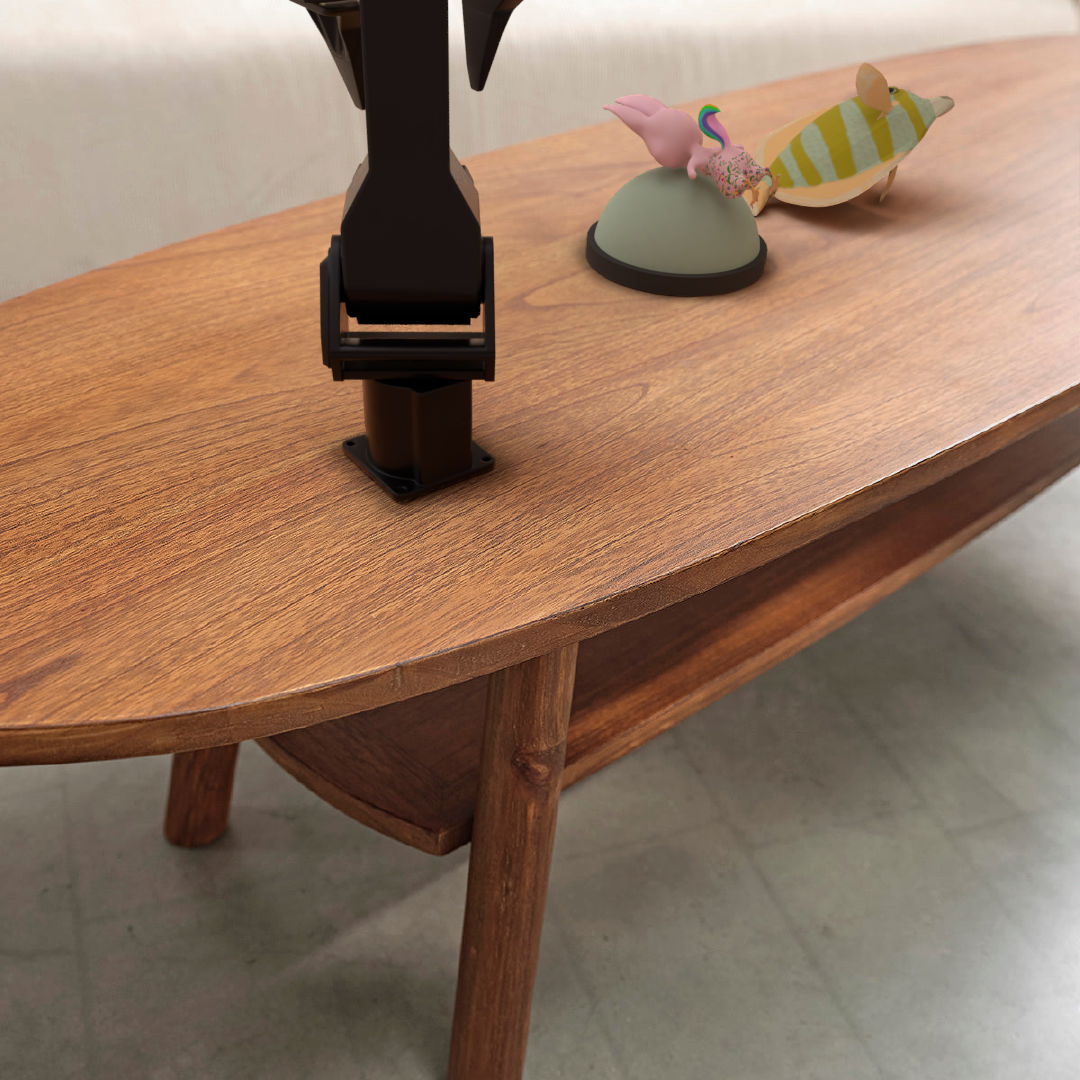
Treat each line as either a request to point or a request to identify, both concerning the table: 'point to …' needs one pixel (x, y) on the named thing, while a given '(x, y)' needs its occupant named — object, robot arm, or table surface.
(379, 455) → the robot arm
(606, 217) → the dome on round base
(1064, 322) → the table surface
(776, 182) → the rabbit figure
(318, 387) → the table surface
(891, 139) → the decorative fish sculpture
